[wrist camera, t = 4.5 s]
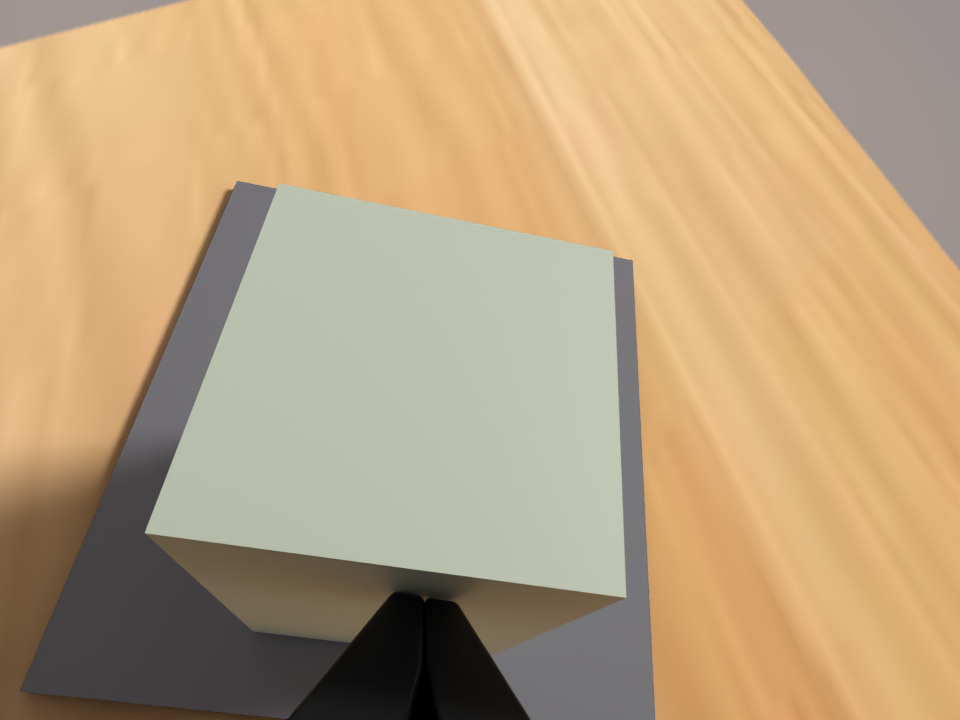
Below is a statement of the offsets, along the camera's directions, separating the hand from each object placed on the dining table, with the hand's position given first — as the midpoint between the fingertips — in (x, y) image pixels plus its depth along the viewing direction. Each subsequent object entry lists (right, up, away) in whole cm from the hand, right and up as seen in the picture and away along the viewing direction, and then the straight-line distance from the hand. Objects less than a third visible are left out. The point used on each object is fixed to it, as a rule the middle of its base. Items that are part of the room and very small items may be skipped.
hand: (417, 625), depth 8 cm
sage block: (-1, -1, +7) cm, 7 cm away
